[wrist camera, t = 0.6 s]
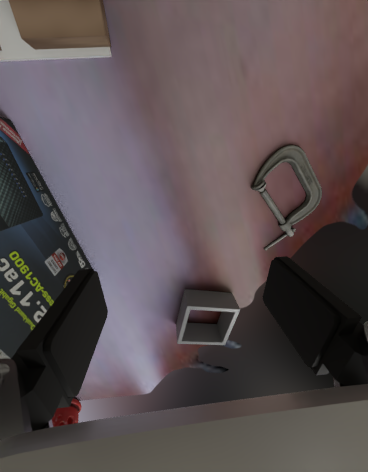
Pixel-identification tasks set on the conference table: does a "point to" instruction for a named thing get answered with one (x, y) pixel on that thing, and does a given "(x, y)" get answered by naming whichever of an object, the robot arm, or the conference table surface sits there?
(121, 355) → the conference table surface
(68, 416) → the plant pot
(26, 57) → the mat
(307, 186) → the c clamp
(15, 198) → the router box
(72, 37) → the stand
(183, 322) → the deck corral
